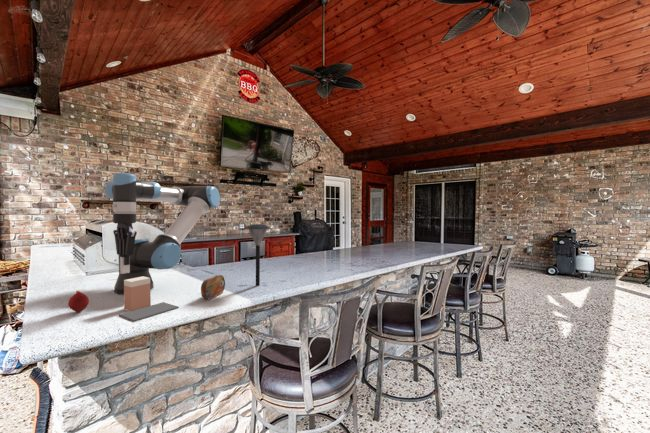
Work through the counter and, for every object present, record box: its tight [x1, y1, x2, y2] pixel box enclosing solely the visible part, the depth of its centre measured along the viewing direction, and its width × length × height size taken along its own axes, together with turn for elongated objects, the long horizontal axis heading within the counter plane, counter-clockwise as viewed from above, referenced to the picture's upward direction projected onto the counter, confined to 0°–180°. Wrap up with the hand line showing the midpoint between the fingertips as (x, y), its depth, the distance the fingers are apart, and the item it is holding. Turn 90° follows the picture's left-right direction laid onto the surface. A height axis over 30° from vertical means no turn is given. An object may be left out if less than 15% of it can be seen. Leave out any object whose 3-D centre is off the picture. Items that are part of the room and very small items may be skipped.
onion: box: [68, 290, 90, 314], centre depth 108 cm, size 6×6×8 cm
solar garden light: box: [244, 223, 271, 287], centre depth 147 cm, size 12×12×30 cm
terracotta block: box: [123, 276, 152, 312], centre depth 114 cm, size 5×7×11 cm
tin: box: [200, 274, 226, 300], centre depth 129 cm, size 15×3×8 cm, turn 168°
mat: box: [118, 301, 180, 322], centre depth 110 cm, size 10×16×1 cm, turn 149°
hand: (125, 272), depth 118 cm, fingers closed
